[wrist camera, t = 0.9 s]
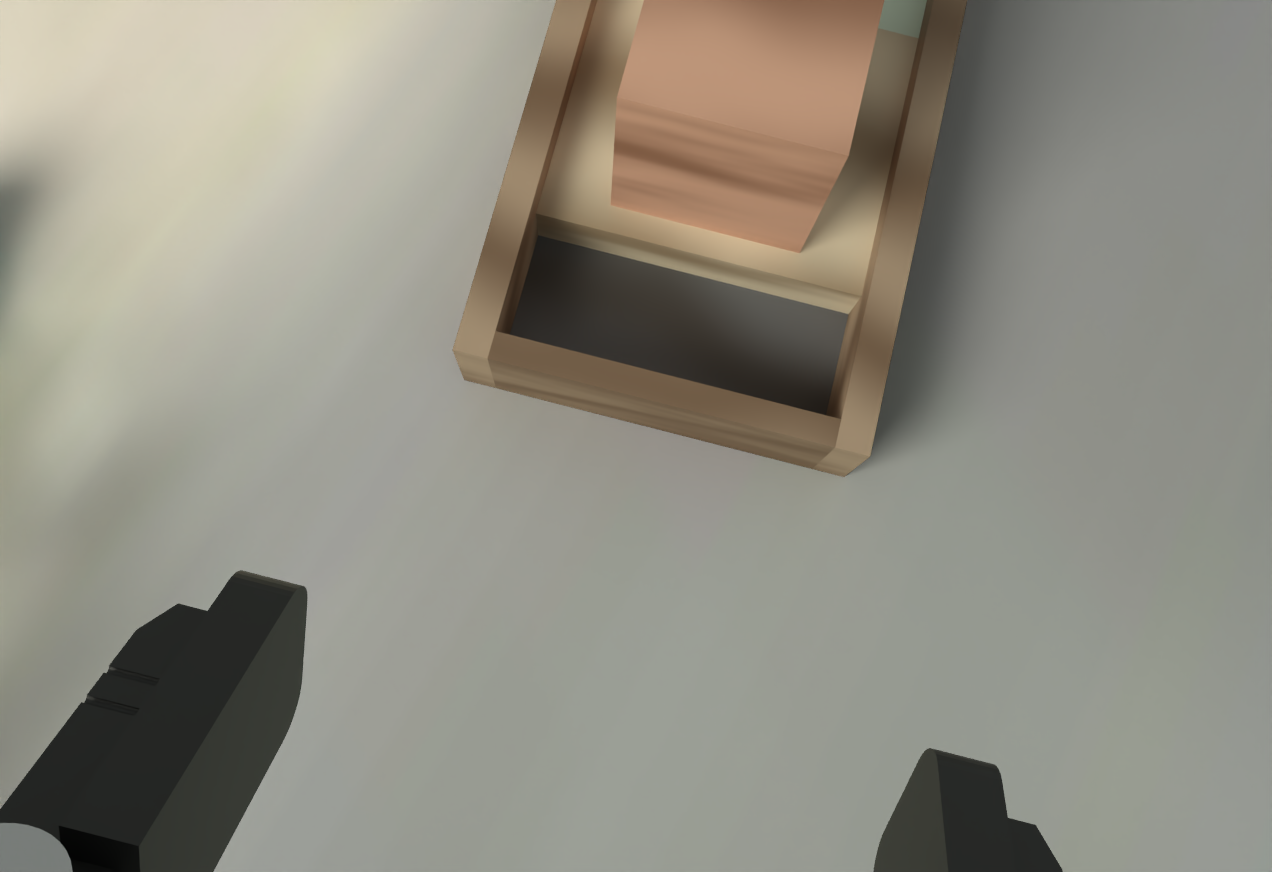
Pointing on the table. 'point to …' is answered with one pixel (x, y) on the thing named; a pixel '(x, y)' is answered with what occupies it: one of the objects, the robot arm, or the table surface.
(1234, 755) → the table surface
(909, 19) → the pad
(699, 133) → the block
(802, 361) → the trough
